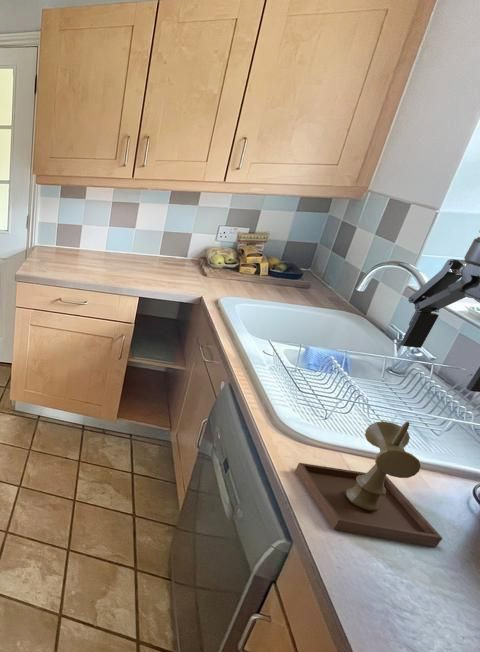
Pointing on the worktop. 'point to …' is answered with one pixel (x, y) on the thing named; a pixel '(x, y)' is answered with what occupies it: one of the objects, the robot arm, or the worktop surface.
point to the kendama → (383, 464)
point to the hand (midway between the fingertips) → (441, 366)
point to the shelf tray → (388, 522)
